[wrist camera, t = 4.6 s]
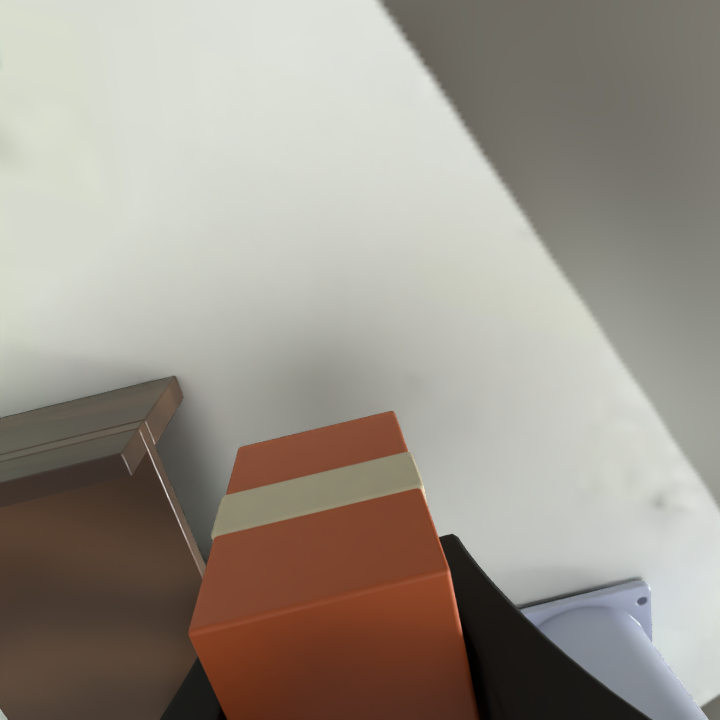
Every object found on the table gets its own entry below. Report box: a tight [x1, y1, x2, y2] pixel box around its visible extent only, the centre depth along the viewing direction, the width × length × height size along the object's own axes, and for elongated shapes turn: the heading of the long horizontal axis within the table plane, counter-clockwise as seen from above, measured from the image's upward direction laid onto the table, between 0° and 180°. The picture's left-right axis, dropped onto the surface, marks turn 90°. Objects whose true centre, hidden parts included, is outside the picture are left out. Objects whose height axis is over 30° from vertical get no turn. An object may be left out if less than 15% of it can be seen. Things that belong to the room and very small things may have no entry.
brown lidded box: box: [0, 376, 206, 720], centre depth 19 cm, size 13×9×6 cm
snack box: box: [188, 411, 480, 720], centre depth 10 cm, size 7×4×5 cm, turn 13°
